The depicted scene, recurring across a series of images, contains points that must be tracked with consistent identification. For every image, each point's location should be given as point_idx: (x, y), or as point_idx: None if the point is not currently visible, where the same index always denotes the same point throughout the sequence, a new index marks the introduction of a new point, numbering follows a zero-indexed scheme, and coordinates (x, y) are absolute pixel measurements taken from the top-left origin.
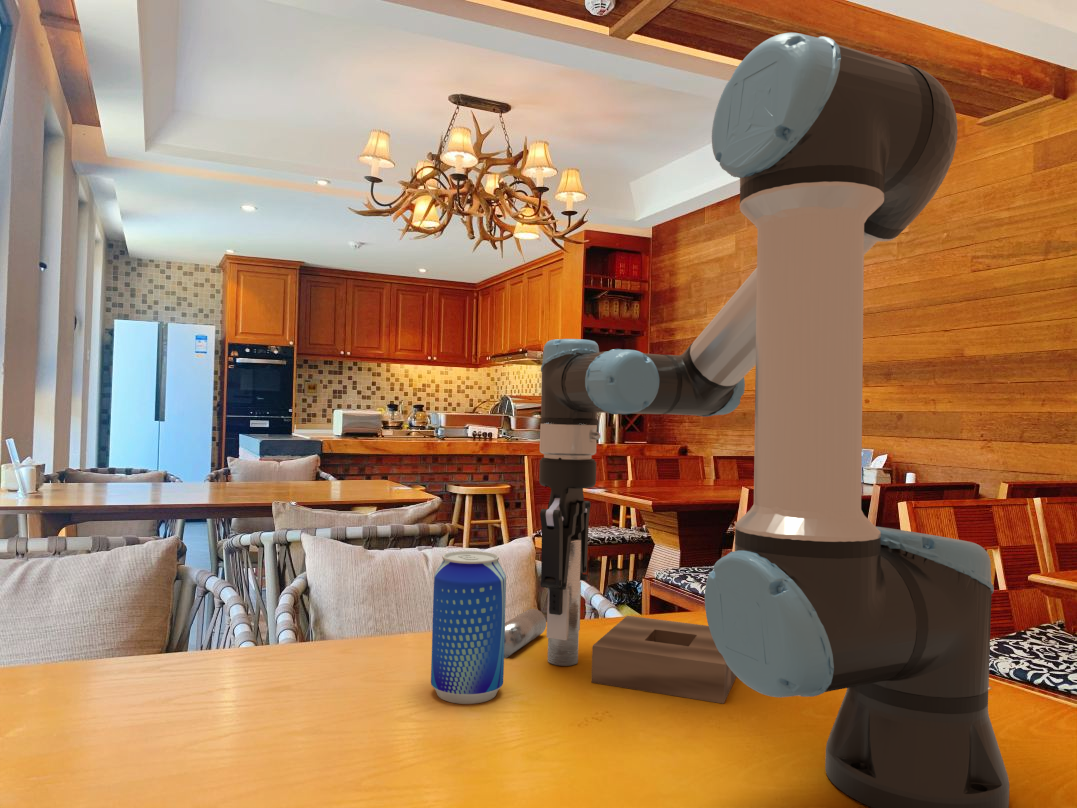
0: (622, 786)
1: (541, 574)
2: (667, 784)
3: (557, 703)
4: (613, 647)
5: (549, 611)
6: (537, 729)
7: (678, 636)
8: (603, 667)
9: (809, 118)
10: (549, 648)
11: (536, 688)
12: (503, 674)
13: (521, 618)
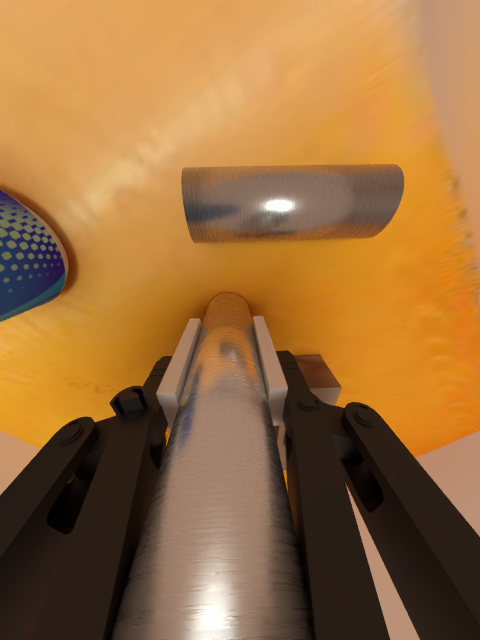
0: (15, 427)
1: (27, 467)
2: (45, 440)
3: (98, 354)
4: None
5: (158, 361)
6: (27, 362)
7: (276, 435)
8: None
9: None
10: (209, 307)
11: (117, 320)
12: (39, 305)
13: (297, 212)
